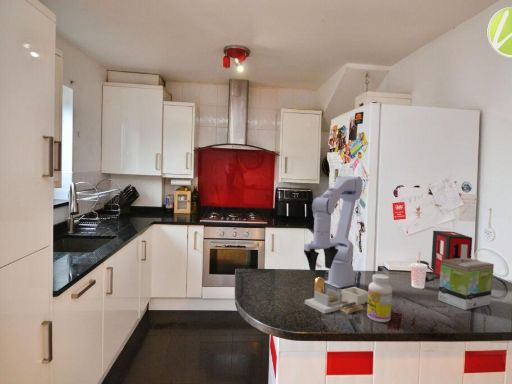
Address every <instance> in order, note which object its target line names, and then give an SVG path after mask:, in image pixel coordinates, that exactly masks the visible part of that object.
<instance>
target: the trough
mask: <svg viewBox="0 0 512 384" xmlns="http://www.w3.org/2000/svg"><path fill="white" fill-rule="evenodd" d="M363 305H364V304H361V305H359V304H356V302H352V303H348V304H344V305H341V306H340V310H339V311H341V312H343V313H345V314H347V315H348V314H351V313H355V312H358V311H362V310H363V308H364V307H363Z"/></svg>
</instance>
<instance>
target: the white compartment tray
mask: <svg viewBox="0 0 512 384" xmlns="http://www.w3.org/2000/svg"><path fill="white" fill-rule="evenodd" d="M313 293H314V294H313V295H314V296H313V297H312V298H308V299H304V305H307V306H309V307H311V308H312V309H315V310H317V311H319V312H320V313H322V314H329V313H332V312H337V311H341V310H340V306H341V305H344V304H348V303H350V302H348V301H346V300H343V299H342V292H339V291H337V290H334V289H331V288H327V289H326V293H324V294H322V293H320V292H318V291H314V292H313ZM327 293H329V294H331V295H333V296H336V297H337V300H335V301H331V302H329V300H330V297H329V296H327V295H325V294H327Z"/></svg>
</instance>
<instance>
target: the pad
mask: <svg viewBox="0 0 512 384" xmlns="http://www.w3.org/2000/svg"><path fill="white" fill-rule="evenodd" d="M324 294H325V295H327V296H329V297H330V300H329V302H331V301H335V300H337V297H336V296H333V295H331V294H329V293H327V292H326V293H324Z"/></svg>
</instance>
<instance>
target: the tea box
mask: <svg viewBox="0 0 512 384" xmlns="http://www.w3.org/2000/svg"><path fill="white" fill-rule="evenodd" d="M494 268H495V267H494V263H490V262H487V261H486V262H485V261H481V260H478V259H473V258H471V259H469V258H458V259H448V260H442V262H441V272H440V278H439V282H438V283H439V284H438V285H439V286H438V295H437V299H438V301H440V302H443V303H444V304H448V305H450V306H454V307H455V308H457V309H458V308H459V309H461V310H464V311H466V310H471V309H473V308H478V307H484V306H488V305H490V304H491V300H492V290H493V280H494V279H493V278H494Z"/></svg>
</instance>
